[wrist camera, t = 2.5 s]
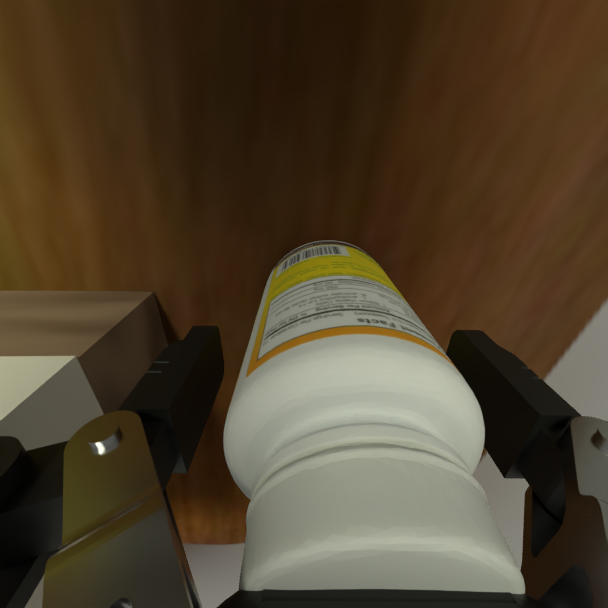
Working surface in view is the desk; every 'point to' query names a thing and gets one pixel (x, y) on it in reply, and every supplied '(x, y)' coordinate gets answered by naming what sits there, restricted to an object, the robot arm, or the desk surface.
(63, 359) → the tower top
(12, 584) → the robot arm
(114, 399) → the tower base
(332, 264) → the supplement bottle
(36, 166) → the desk surface
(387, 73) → the desk surface
